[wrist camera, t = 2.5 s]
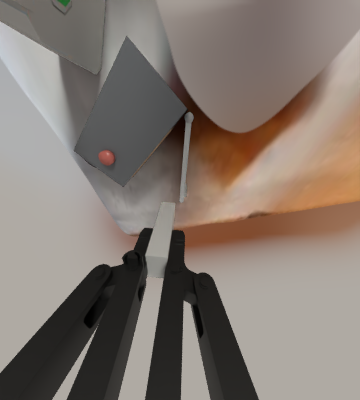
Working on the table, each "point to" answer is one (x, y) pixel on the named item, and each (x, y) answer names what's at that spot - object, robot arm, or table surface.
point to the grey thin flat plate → (185, 155)
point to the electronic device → (61, 27)
